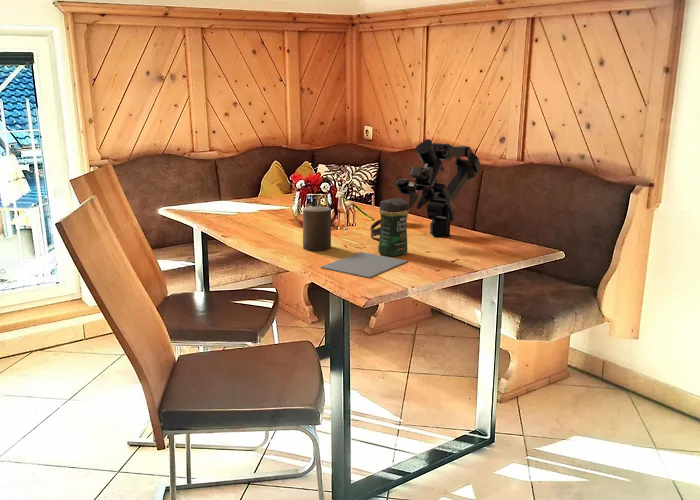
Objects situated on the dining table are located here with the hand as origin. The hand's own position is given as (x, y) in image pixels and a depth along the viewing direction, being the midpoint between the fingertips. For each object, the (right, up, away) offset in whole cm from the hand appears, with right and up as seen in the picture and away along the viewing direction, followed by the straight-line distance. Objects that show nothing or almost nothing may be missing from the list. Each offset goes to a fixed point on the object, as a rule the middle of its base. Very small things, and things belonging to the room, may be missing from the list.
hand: (413, 208), depth 222 cm
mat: (-17, -19, -20) cm, 32 cm away
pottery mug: (-9, -10, +16) cm, 21 cm away
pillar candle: (-33, -14, +1) cm, 36 cm away
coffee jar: (-7, -16, -6) cm, 19 cm away
